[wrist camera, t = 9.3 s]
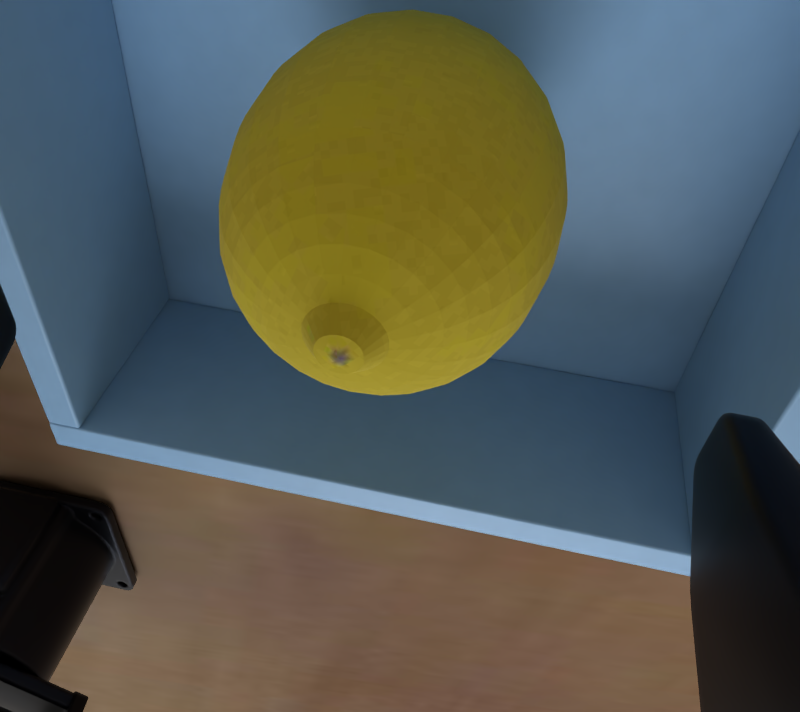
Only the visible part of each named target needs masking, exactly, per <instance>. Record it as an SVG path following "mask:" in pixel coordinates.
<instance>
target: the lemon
mask: <svg viewBox="0 0 800 712" xmlns="http://www.w3.org/2000/svg"><path fill="white" fill-rule="evenodd" d="M567 201H568V191H567V175H566V160H565V149H564V143H563V140H562V137H561V134H560V132H559V129H558V126H557V123H556V121H555V118H554V115H553V112H552V110H551V107H550V104H549V102H548V99H547V97H546V95H545V94H544V92H543V91H542V89H541V88H540V87H539V85H538V84H537V82H536V81H535V79H534V78H533V77H532V75H531V74H530V72H529V71H528V70H527V68H526V67H525V65H524V64H523V62H522V61H521V60H520V59H519V58H518V57H517V56H516V55H515V54H513V53H512V52H511V51H510V50H509V49H507V48H506V47H505V46H504V45H503V44H502V43H500V42H499V41H498V40H497V39H496V38H494V37H493V36H492V35H491V34H490V33H488V32H485V31H483V30H481V29H479V28H477V27H475V26H472V25H470V24H468V23H466V22H464V21H462V20H459V19H457V18H455V17H453V16H448V15H442V14H436V13H431V12H425V11H419V10H413V9H412V10H401V11H390V12H379V13H371V14H366V15H364V16H361V17H359V18H356V19H354V20H351V21H349V22H346V23H344V24H341V25H339V26H336V27H334V28H331V29H329V30H327V31H325V32H323V33H321V34H320V35H319V36H317V37H316V38H315V39H313V40H312V41H311V42H310V43H308V44H307V45H306V46H305V47H303V48H302V49H301V50H300V51H298V52H297V53H296V54H295V55H293V56H292V57H291V58H290V59H288V60H287V61H286V62H284V63H283V64H282V65H281V66H280V67H279V68H278V69H277V70H276V72H275V73H274V74H273V75H272V77H271V78H270V80H269V81H268V83H267V84H266V86H265V87H264V89H263V90H262V91H261V93H260V94H259V96H258V97H257V99H256V100H255V102H254V103H253V105H252V106H251V108H250V109H249V111H248V112H247V114H246V115H245V117H244V119H243V121H242V123H241V125H240V127H239V130H238V133H237V135H236V138H235V141H234V144H233V148H232V151H231V155H230V158H229V162H228V165H227V168H226V172H225V175H224V179H223V183H222V187H221V192H220V200H219V241H220V255H221V258H222V262H223V265H224V268H225V272H226V275H227V279H228V282H229V285H230V289H231V292H232V295H233V297H234V299H235V301H236V303H237V304H238V306H239V308H240V309H241V311H242V313H243V314H244V316H245V318H246V319H247V321H248V323H249V324H250V326H251V327H252V329H253V330H254V331H255V332H256V334H257V335H258V336H259V337H260V338H261V339H262V340H263V341H264V342H265V343H266V344H267V345H268V347H269V348H270V349H271V350H272V351H273V352H274V353H275V354H277V355H278V356H279V357H281V358H282V359H283V360H285V361H286V362H287V363H289V364H290V365H291V366H293V367H294V368H295V369H297V370H298V371H300V372H302V373H304V374H306V375H308V376H310V377H312V378H314V379H316V380H318V381H319V382H321V383H323V384H326V385H330V386H333V387H336V388H339V389H343V390H346V391H350V392H357V393H365V394H372V395H380V396H383V395H401V394H411V393H415V392H419V391H423V390H427V389H430V388H434V387H438V386H441V385H445V384H448V383H450V382H452V381H453V380H455V379H457V378H459V377H461V376H463V375H465V374H467V373H468V372H470V371H472V370H474V369H475V368H477V367H479V366H480V365H482V364H484V363H485V362H486V361H487V360H488V359H489V358H490V357H491V356H492V355H493V354H494V353H495V352H496V351H498V350H499V349H500V348H501V347H502V346H503V345H504V344H505V343H506V342H507V341H508V340H509V339H510V338H511V337H512V336H513V335H514V334H515V333H516V332H517V330H518V329H519V327H520V326H521V325H522V323H523V322H524V320H525V318H526V317H527V315H528V313H529V311H530V310H531V308H532V306H533V304H534V303H535V301H536V299H537V297H538V295H539V294H540V292H541V290H542V288H543V286H544V285H545V283H546V281H547V279H548V277H549V275H550V272H551V270H552V267H553V265H554V262H555V258H556V255H557V251H558V247H559V243H560V238H561V234H562V229H563V225H564V221H565V216H566V210H567Z"/></svg>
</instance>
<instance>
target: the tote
mask: <svg viewBox="0 0 800 712" xmlns="http://www.w3.org/2000/svg"><path fill="white" fill-rule="evenodd" d="M412 9H413V10H419V11H425V12H431V13H436V14H442V15H448V16H453V17H455V18H457V19H459V20H462V21H464V22H466V23H468V24H470V25H472V26H475V27H477V28H479V29H481V30H483V31H485V32H488V33H490V34H491V35H492V36H493V37H494V38H496V39H497V40H498V41H499V42H500V43H502V44H503V45H504V46H505V47H506V48H507V49H509V50H510V51H511V52H512V53H513V54H515V55H516V56H517V57H518V58H519V59H520V60H521V61H522V62H523V64H524V65H525V67H526V68H527V70H528V71H529V72H530V74H531V75H532V77H533V78H534V79H535V81H536V82H537V84H538V85H539V87H540V88H541V89H542V91H543V92H544V94H545V95H546V97H547V99H548V102H549V104H550V107H551V110H552V112H553V115H554V118H555V121H556V123H557V126H558V129H559V132H560V134H561V137H562V140H563V143H564V149H565V160H566V175H567V191H568V201H567V210H566V216H565V221H564V225H563V229H562V234H561V238H560V243H559V247H558V251H557V255H556V258H555V262H554V265H553V267H552V270H551V272H550V275H549V277H548V279H547V281H546V283H545V285H544V286H543V288H542V290H541V292H540V294H539V295H538V297H537V299H536V301H535V303H534V304H533V306H532V308H531V310H530V311H529V313H528V315H527V317H526V318H525V320H524V322H523V323H522V325H521V326H520V327H519V329H518V330H517V332H516V333H515V334H514V335H513V336H512V337H511V338H510V339H509V340H508V341H507V342H506V343H505V344H504V345H503V346H502V347H501V348H500V349H499V350H498V351H496V352H495V353H494V354H493V355H492V356H491V357H490V358H489V359H488V360H487V361H486V362H485V363H484V364H482V365H480V366H479V367H477V368H475V369H474V370H472V371H470V372H468V373H467V374H465V375H463V376H461V377H459V378H457V379H455V380H453V381H452V382H450V383H448V384H445V385H441V386H438V387H434V388H430V389H427V390H423V391H419V392H415V393H411V394H401V395H383V396H380V395H372V394H365V393H357V392H350V391H346V390H343V389H339V388H336V387H333V386H330V385H326V384H323V383H321V382H319V381H318V380H316V379H314V378H312V377H310V376H308V375H306V374H304V373H302V372H300V371H298V370H297V369H295V368H294V367H293V366H291V365H290V364H289V363H287V362H286V361H285V360H283V359H282V358H281V357H279V356H278V355H277V354H275V353H274V352H273V351H272V350H271V349H270V348H269V347H268V345H267V344H266V343H265V342H264V341H263V340H262V339H261V338H260V337H259V336H258V335H257V334H256V332H255V331H254V330H253V329H252V327H251V326H250V324H249V323H248V321H247V319H246V318H245V316H244V314H243V313H242V311H241V309H240V308H239V306H238V304H237V303H236V301H235V299H234V297H233V295H232V292H231V289H230V285H229V282H228V279H227V275H226V272H225V268H224V265H223V262H222V258H221V255H220V241H219V200H220V192H221V187H222V183H223V179H224V175H225V172H226V168H227V165H228V162H229V158H230V155H231V151H232V148H233V144H234V141H235V138H236V135H237V133H238V130H239V127H240V125H241V123H242V121H243V119H244V117H245V115H246V114H247V112H248V111H249V109H250V108H251V106H252V105H253V103H254V102H255V100H256V99H257V97H258V96H259V94H260V93H261V91H262V90H263V89H264V87H265V86H266V84H267V83H268V81H269V80H270V78H271V77H272V75H273V74H274V73H275V72H276V70H277V69H278V68H279V67H280V66H281V65H282V64H283V63H284V62H286V61H287V60H288V59H290V58H291V57H292V56H293V55H295V54H296V53H297V52H298V51H300V50H301V49H302V48H303V47H305V46H306V45H307V44H308V43H310V42H311V41H312V40H313V39H315V38H316V37H317V36H319V35H320V34H321V33H323V32H325V31H327V30H329V29H331V28H334V27H336V26H339V25H341V24H344V23H346V22H349V21H351V20H354V19H356V18H359V17H361V16H364V15H366V14H371V13H379V12H390V11H401V10H412ZM0 284H1V287H2V289H3V292H4V294H5V297H6V299H7V302H8V304H9V307H10V309H11V312H12V314H13V317H14V319H15V322H16V336H15V339H16V341H17V344H18V346H19V349H20V351H21V354H22V356H23V359H24V361H25V364H26V366H27V369H28V371H29V374H30V376H31V379H32V381H33V383H34V386H35V388H36V391H37V393H38V396H39V398H40V401H41V403H42V406H43V408H44V411H45V413H46V416H47V418H48V420H49V421H50V427H51V429H52V432H53V434H54V436H55V439H56V441H57V443H58V444H59V445H64V446H69V447H74V448H79V449H83V450H88V451H93V452H98V453H102V454H107V455H112V456H117V457H122V458H126V459H131V460H136V461H141V462H146V463H150V464H155V465H160V466H165V467H170V468H174V469H179V470H184V471H189V472H193V473H198V474H203V475H208V476H213V477H217V478H222V479H227V480H232V481H237V482H241V483H246V484H251V485H256V486H261V487H265V488H270V489H275V490H280V491H284V492H289V493H294V494H299V495H304V496H308V497H313V498H318V499H323V500H328V501H332V502H337V503H342V504H347V505H352V506H356V507H361V508H366V509H371V510H375V511H380V512H385V513H390V514H395V515H399V516H404V517H409V518H414V519H419V520H423V521H428V522H433V523H438V524H443V525H447V526H452V527H457V528H462V529H466V530H471V531H476V532H481V533H486V534H490V535H495V536H500V537H505V538H510V539H514V540H519V541H524V542H529V543H534V544H538V545H543V546H548V547H553V548H557V549H562V550H567V551H572V552H577V553H581V554H586V555H591V556H596V557H601V558H605V559H610V560H615V561H620V562H625V563H629V564H634V565H639V566H644V567H648V568H653V569H658V570H663V571H668V572H672V573H677V574H682V575H687V576H690V570H691V537H692V505H693V475H694V467H695V463H696V460H697V457H698V455H699V453H700V451H701V449H702V447H703V446H704V444H705V442H706V440H707V438H708V437H709V435H710V433H711V431H712V430H713V428H714V426H715V424H716V422H717V421H718V419H719V418H720V417H721V416H722V415H723V414H725V413H736V414H741V415H747V416H752V417H757V418H760V419H762V420H763V421H764V422H765V423H766V424H767V425H768V426H769V427H770V428H771V430H772V431H773V432H774V433H775V435H776V436H777V437H778V438H779V439H780V441H781V442H782V443H783V444H784V446H785V447H786V448H787V449H788V451H789V452H790V453H791V454H792V455H793V457H794V458H795V459H796V460H797V462H798V463H799V464H800V0H0Z"/></svg>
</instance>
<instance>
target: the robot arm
mask: <svg viewBox="0 0 800 712" xmlns="http://www.w3.org/2000/svg"><path fill="white" fill-rule="evenodd" d="M15 336H16V322H15V319H14V317H13V314H12V312H11V309H10V307H9V304H8V302H7V299H6V297H5V294H4V292H3V289H2V287H1V284H0V368H1V366H2V364H3V362H4V360H5V358H6V357H7V355H8V353H9V351H10V349H11V347H12V345H13V343H14V340H15ZM136 581H137V579H136V576H135V573H134V570H133V567H132V565H131V562H130V559H129V556H128V554H127V551H126V548H125V545H124V542H123V540H122V537H121V534H120V531H119V529H118V526H117V523H116V520H115V517H114V515H113V512H112V510H111V508H109V507H108V506H107V505H105V504H103V503H100V502H97V501H92V500H88V499H83V498H78V497H74V496H69V495H64V494H60V493H55V492H51V491H46V490H41V489H37V488H32V487H27V486H23V485H18V484H13V483H9V482H4V481H0V712H83V710H84V707H85V705H86V702H87V700H88V697H87V696H85V695H83V694H81V693H79V692H74V693H72V692H70V691H68V690H66V689H63V688H61V687H59V686H57V685H55V684H52V683H50V682H49V680H50V678H51V676H52V675H53V673H54V671H55V669H56V667H57V665H58V664H59V662H60V660H61V658H62V656H63V655H64V653H65V651H66V649H67V647H68V645H69V644H70V642H71V640H72V638H73V636H74V634H75V633H76V631H77V629H78V627H79V625H80V624H81V622H82V620H83V618H84V616H85V614H86V613H87V611H88V609H89V607H90V605H91V603H92V602H93V600H94V598H95V596H96V594H97V592H98V591H99V589H100V587H101V585H106V586H111V587H115V588H120V589H124V590H131V589H133V587H134V585H135V583H136ZM690 595H691V611H692V622H693V632H694V643H695V654H696V664H697V675H698V686H699V696H700V707H701V712H800V464H799V463H798V462H797V460H796V459H795V458H794V457H793V455H792V454H791V453H790V452H789V451H788V449H787V448H786V447H785V446H784V444H783V443H782V442H781V441H780V439H779V438H778V437H777V436H776V435H775V433H774V432H773V431H772V430H771V428H770V427H769V426H768V425H767V424H766V423H765V422H764V421H763V420H762V419H760V418H757V417H752V416H747V415H741V414H736V413H725V414H723V415H722V416H721V417H720V418H719V419H718V421H717V422H716V424H715V426H714V428H713V430H712V431H711V433H710V435H709V437H708V438H707V440H706V442H705V444H704V446H703V447H702V449H701V451H700V453H699V455H698V457H697V460H696V463H695V467H694V475H693V505H692V537H691V570H690Z"/></svg>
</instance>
